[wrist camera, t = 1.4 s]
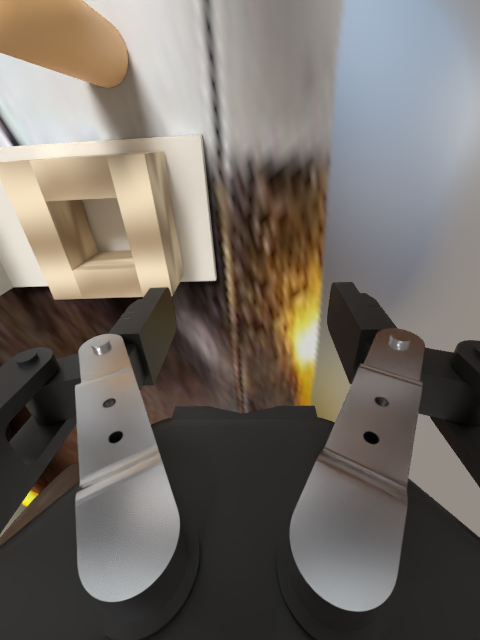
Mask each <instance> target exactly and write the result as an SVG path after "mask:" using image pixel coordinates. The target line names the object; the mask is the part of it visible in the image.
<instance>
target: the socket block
mask: <svg viewBox="0 0 480 640" xmlns="http://www.w3.org/2000/svg"><path fill="white" fill-rule="evenodd" d="M0 179H1V181H2V184H3V186H4V188H5V190H6V193H7V195H8V197H9V199H10V202H11V204H12V206H13V208H14V210H15V213H16V215H17V217H18V219H19V222H20V224H21V226H22V228H23V230H24V233H25V235H26V237H27V239H28V242H29V244H30V246H31V248H32V251H33V253H34V255H35V257H36V259H37V262H38V264H39V266H40V268H41V271H42V273H43V275H44V277H45V279H46V282H47V284H48V286H49V288H50V291H51V293H52V295H53V297H54V299H87V298H121V297H144V296H145V294H146V293H147V291H148V290H149V289H150V288H160V287H168V288H169V289H170V292H171V296H173V294H174V292H175V290H176V288H177V286H178V285H179V283H180V281H181V279H182V277H183V275H184V270H183V264H182V258H181V252H180V246H179V241H178V235H177V229H176V223H175V217H174V211H173V205H172V199H171V193H170V187H169V181H168V175H167V169H166V163H165V157H164V151H156V152H139V153H123V154H107V155H90V156H74V157H58V158H41V159H29V160H19V161H8V162H0ZM103 198H117V199H118V203H119V207H120V211H121V215H122V218H123V222H124V226H125V230H126V234H127V237H128V241H129V245H130V249H131V250H123V251H98V248H97V245H96V242H95V239H94V236H93V233H92V230H91V226H90V223H89V220H88V217H87V214H86V211H85V208H84V205H83V202H82V200H83V199H103Z"/></svg>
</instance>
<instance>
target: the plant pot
mask: <svg viewBox="0 0 480 640" xmlns="http://www.w3.org/2000/svg"><path fill="white" fill-rule="evenodd" d="M78 481H80V473H79V463H74V464H71V465H70V466H68V467H67V468H66V469H65V470H64V471H63V472H61V473H60V474H59V475H58V476H57V477H56V478H55V479H54V480H53V481H52V482H51V483H50V484H49V485H48V486H47V487H46V488H45V489H44V490H43V491H42V492H41V493H40V494H39V495H38V496H37V497H36V498H35V499H34V500H33V501H32V502H31V503H30V504H29V505H28V506H27V507H26V508H25V510H24V511H23V512H22V513H21V514H20V515H19V517H17V519H16V520H15V521H14V522H13V523H12V524H11V526H10V527H9V528H8V529H7V530H6V531H5V533H4V534H3V535H2V536H1V537H0V545H2V544H3V543H4V542H5V541H6V540H8V539H9V538H10V537H11V536H13V535H14V534H15V533H16V532H17V531H19V530H20V529H21V528H22V527H24V526H25V525H26V524H27V523H28V522H30V521H31V520H32V519H33V518H35V517H36V516H37V515H38V514H39V513H41V512H42V511H43V510H44V509H45V508H47V507H48V506H49V505H50V504H52V503H53V502H54V501H55V500H56V499H58V498H59V497H60V496H61V495H63V494H64V493H65V492H66V491H67V490H69V489H70V488H71V487H72V486H73V485H75V484H76V483H77V482H78Z"/></svg>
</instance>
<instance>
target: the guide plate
mask: <svg viewBox="0 0 480 640" xmlns="http://www.w3.org/2000/svg"><path fill="white" fill-rule="evenodd" d="M156 151H164V157H165V163H166V169H167V175H168V181H169V187H170V193H171V199H172V205H173V211H174V217H175V223H176V229H177V235H178V241H179V246H180V252H181V258H182V264H183V270H184V275H183V277H182V279H181V281H180V282H191V281H216V278H217V274H216V264H215V254H214V245H213V235H212V225H211V216H210V206H209V196H208V187H207V177H206V167H205V158H204V148H203V139H202V134H198V135H183V136H167V137H152V138H136V139H121V140H105V141H89V142H74V143H58V144H43V145H27V146H12V147H0V162H8V161H19V160H29V159H41V158H58V157H74V156H90V155H107V154H123V153H139V152H156ZM82 202H83V205H84V208H85V211H86V214H87V217H88V220H89V223H90V226H91V230H92V233H93V236H94V239H95V242H96V245H97V248H98V251H123V250H131V249H130V245H129V241H128V237H127V234H126V230H125V226H124V222H123V218H122V215H121V211H120V207H119V203H118V199H117V198H103V199H83V200H82ZM36 286H48V284H47V282H46V279H45V277H44V275H43V273H42V271H41V268H40V266H39V264H38V262H37V259H36V257H35V255H34V253H33V251H32V248H31V246H30V244H29V242H28V239H27V237H26V235H25V233H24V230H23V228H22V226H21V224H20V222H19V219H18V217H17V215H16V213H15V210H14V208H13V206H12V204H11V202H10V199H9V197H8V195H7V193H6V190H5V188H4V186H3V184H2V181H1V179H0V295H2V294H4V293H5V292H7V291H8V290H10V289H12V288H13V287H36Z"/></svg>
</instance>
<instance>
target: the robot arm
mask: <svg viewBox="0 0 480 640" xmlns="http://www.w3.org/2000/svg"><path fill="white" fill-rule="evenodd" d="M327 324H328V329H329V332H330V335H331V337H332V340H333V342H334V345H335V347H336V350H337V352H338V355H339V357H340V360H341V363H342V365H343V368H344V370H345V373H346V375H347V378H348V380H349V383H350V384H352V385H351V387H350V389H349V392H348V394H347V396H346V399H345V401H344V403H343V406H342V408H341V410H340V413H339V415H338V417H337V419H336V422H335V423H334V422H332V421H329V420H326V419H323V418H319V417H317V414H316V409H315V406H278V407H273V408H268V409H264V410H259V411H255V412H250V413H237V412H233V411H228V410H223V409H219V408H214V407H209V406H180V407H175V409H174V413H173V416H172V418H168V419H165V420H162V421H159V422H157V423H154V424H152V425H151V423H150V420H149V417H148V414H147V411H146V408H145V405H144V402H143V399H142V396H141V393H140V390H141V387H142V385H154V384H155V381H156V379H157V376H158V374H159V371H160V369H161V366H162V364H163V362H164V359H165V357H166V354H167V352H168V349H169V347H170V344H171V342H172V339H173V337H174V335H175V332H176V317H175V312H174V307H173V302H172V297H171V292H170V289H169V288H168V287H160V288H150V289H149V290H148V291H147V293H146V294H145V296H144V297H143V299H138V300H137V301H135V302H134V303H132V304H131V305H129V307H128V308H127V309H126V311H125V313H123V315H122V316H121V317H120V319H119V320H118V321H117V323H116V324H115V325H114V327H113V328H112V329H111V331H110V332H109V333H108V334H104V335H100V336H97V337H94V338H92V339H90V340H88V341H87V342H85V343H84V344H83V345H82V346H81V347H80V349H79V354H75V355H71V356H66V357H61V358H57V359H56V358H55V356H54V354H53V352H52V350H51V349H49V348H46V347H38V348H33V349H29V350H26V351H23V352H21V353H19V354H17V355H15V356H13V357H12V358H10V359H9V360H8V361H7V362H5V363H4V364H3V365H2V366H1V367H0V533H1V532H2V530H3V529H4V527H5V526H6V525H7V523H8V522H9V520H10V519H11V517H12V516H13V515H14V513H15V512H16V510H17V509H18V507H19V506H20V504H21V503H22V502H23V500H24V499H25V497H26V496H27V494H28V493H29V491H30V490H31V488H32V487H33V486H34V484H35V483H36V481H37V480H38V478H39V477H40V475H41V474H42V473H43V471H44V470H45V468H46V467H47V465H48V464H49V462H50V461H51V460H52V458H53V457H54V455H55V454H56V452H57V451H58V449H59V448H60V447H61V445H62V444H63V442H64V441H65V439H66V438H67V436H68V435H69V434H70V432H71V431H72V429H73V428H74V426H75V425H76V423H77V436H78V454H79V473H80V481H78V482H77V483H76V484H75V485H73V486H72V487H71V488H70V489H69V490H67V491H66V492H65V493H64V494H63V495H61V496H60V497H59V498H58V499H56V500H55V501H54V502H53V503H52V504H50V505H49V506H48V507H47V508H45V509H44V510H43V511H42V512H41V513H39V514H38V515H37V516H36V517H35V518H33V519H32V520H31V521H30V522H28V523H27V524H26V525H25V526H24V527H22V528H21V529H20V530H19V531H17V532H16V533H15V534H14V535H13V536H11V537H10V538H9V539H8V540H6V541H5V542H4V543H3V544H2V545H0V640H480V537H478V536H477V535H476V534H475V533H474V532H472V531H471V530H470V529H469V528H468V527H466V526H465V525H464V524H463V523H462V522H460V521H459V520H458V519H457V518H456V517H454V516H453V515H452V514H451V513H450V512H448V511H447V510H446V509H445V508H443V507H442V506H441V505H440V504H439V503H438V502H436V501H435V500H434V499H433V498H432V497H430V496H429V495H428V494H427V493H426V492H424V491H423V490H422V489H421V488H419V487H418V486H417V485H416V484H415V483H414V482H412V481H411V480H410V479H409V478H408V476H409V471H410V463H411V457H412V451H413V444H414V438H415V431H416V425H417V418H418V413H419V414H424V415H428V416H430V418H431V419H432V421H433V422H434V424H435V425H436V426H437V428H438V429H439V431H440V432H441V434H442V435H443V436H444V438H445V439H446V440H447V442H448V443H449V445H450V446H451V448H452V449H453V450H454V452H455V453H456V455H457V456H458V458H459V459H460V460H461V462H462V463H463V465H464V466H465V467H466V469H467V470H468V472H469V473H470V474H471V476H472V477H473V478H474V480H475V482H476V483H477V484H478V486H479V487H480V341H474V340H468V341H462V342H460V343H459V344H458V345H457V347H456V349H455V351H454V353H452V352H446V351H441V350H434V349H429V348H425V343H424V341H423V340H422V339H421V338H420V337H419V336H417V335H415V334H414V333H411V332H409V331H406V330H403V329H398V328H397V327H396V326H395V324H394V323H393V322H392V321H391V319H390V318H389V317H388V315H387V314H386V313H385V311H384V310H383V309H382V307H380V305H379V303H378V302H377V301H376V300H375V299H374V298H373V297H370V296H369V295H367V294H366V293H359V291H358V290H357V288H356V287H355V285H354V284H353V283H352V282H334V283H332V286H331V292H330V299H329V307H328V315H327ZM25 405H26V407H27V409H28V410H29V412H30V413H31V415H32V416H31V417H30V418H29V420H28V421H27V422H26V423H25V424H24V425H23V426H22V428H21V429H20V430H19V431H18V432H17V433H16V434H15V436H14V437H13V438H12V439H11V440H10V441H9V442H8V441H7V439H6V435H5V433H6V428H7V426H8V424H9V422H10V421H11V420H12V419H13V418H14V417H15V416H16V415H17V414H18V412H19V411H20V410H21V409H22V408H23V407H24V406H25Z"/></svg>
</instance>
